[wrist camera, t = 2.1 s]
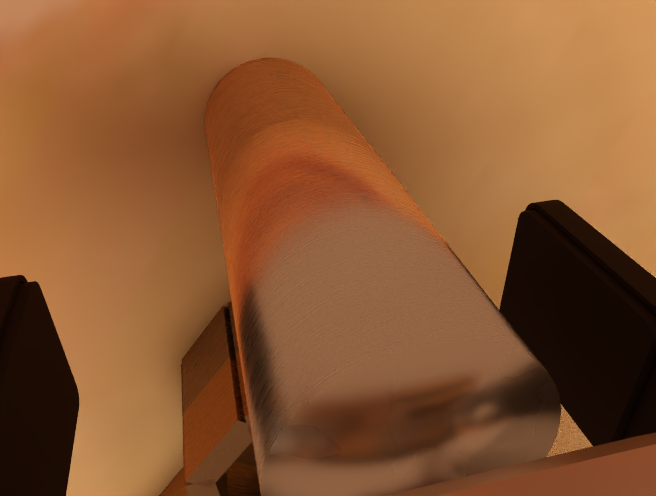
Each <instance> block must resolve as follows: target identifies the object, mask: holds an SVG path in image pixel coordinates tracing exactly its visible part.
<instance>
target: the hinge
mask: <svg viewBox="0 0 656 496" xmlns="http://www.w3.org/2000/svg"><path fill="white" fill-rule="evenodd" d="M228 305H229V309H228V308H226V307H222V308H221V310H220V311H219V312H218V314H217V315H216V316H215V318H214V319H213V320H212V321H211V323H210V324H209V325H208V327H207V328H206V329H205V331H204V332H203V333H202V334H201V336H200V337H199V338H198V340H197V341H196V342H195V344H194V345H193V346H192V347H191V349H190V350H189V351H188V353H187V354H186V355H185V357H184V358H183V359H182V364H181V375H182V417H183V458H184V468H183V469H182V470H181V471H180V472H179V474H178V475H177V476H176V477H175V478H174V479H173V481H172V482H171V483H170V484H169V485H168V487H167V488H166V489H165V490H164V491H163V493H162V494H161V495H160V496H261V493H260V487H259V480H258V473H257V467H256V460H255V453H254V447H253V440H252V434H251V427H250V420H249V414H248V407H247V400H246V394H245V387H244V381H243V374H242V367H241V361H240V354H239V347H238V341H237V334H236V328H235V321H234V314H233V308H232V302H231V303H228Z"/></svg>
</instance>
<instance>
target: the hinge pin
mask: <svg viewBox="0 0 656 496" xmlns="http://www.w3.org/2000/svg"><path fill="white" fill-rule="evenodd" d="M205 129H206V136H207V142H208V149H209V155H210V162H211V169H212V175H213V182H214V189H215V195H216V202H217V208H218V215H219V222H220V228H221V235H222V241H223V248H224V255H225V261H226V268H227V275H228V281H229V288H230V294H231V301H232V308H233V314H234V321H235V328H236V334H237V341H238V347H239V354H240V361H241V367H242V374H243V381H244V387H245V394H246V400H247V407H248V414H249V420H250V427H251V434H252V440H253V447H254V453H255V460H256V467H257V473H258V480H259V487H260V493H261V496H387V495H392V494H396V493H400V492H404V491H408V490H412V489H416V488H421V487H425V486H429V485H433V484H437V483H441V482H446V481H450V480H454V479H458V478H462V477H466V476H471V475H475V474H479V473H483V472H487V471H491V470H496V469H500V468H504V467H508V466H512V465H517V464H521V463H525V462H529V461H534V460H538V459H542V458H546V456H547V454H548V452H549V451H550V449H551V447H552V445H553V442H554V440H555V437H556V435H557V431H558V427H559V424H560V415H561V404H560V396H559V393H558V390H557V387H556V384H555V383H554V381H553V380H552V378H551V376H550V375H549V373H548V372H547V371H546V369H545V368H544V367H543V366H542V364H541V363H540V362H539V360H538V359H537V358H536V357H535V355H534V354H533V353H532V352H531V350H530V349H529V348H528V346H527V345H526V344H525V343H524V341H523V340H522V339H521V338H520V336H519V335H518V334H517V332H516V331H515V330H514V329H513V327H512V326H511V325H510V323H509V322H508V321H507V320H506V318H505V317H504V316H503V315H502V313H501V312H500V311H499V309H498V308H497V307H496V306H495V304H494V303H493V302H492V301H491V299H490V298H489V297H488V295H487V294H486V293H485V292H484V290H483V289H482V288H481V286H480V285H479V284H478V283H477V281H476V280H475V279H474V278H473V276H472V275H471V274H470V272H469V271H468V270H467V269H466V267H465V266H464V265H463V264H462V262H461V261H460V260H459V258H458V257H457V256H456V255H455V253H454V252H453V251H452V249H451V248H450V247H449V246H448V244H447V243H446V242H445V241H444V239H443V238H442V237H441V235H440V234H439V233H438V232H437V230H436V229H435V228H434V227H433V225H432V224H431V223H430V221H429V220H428V219H427V218H426V216H425V215H424V214H423V212H422V211H421V210H420V209H419V207H418V206H417V205H416V204H415V202H414V201H413V200H412V198H411V197H410V196H409V195H408V193H407V192H406V191H405V190H404V188H403V187H402V186H401V184H400V183H399V182H398V181H397V179H396V178H395V177H394V175H393V174H392V173H391V172H390V170H389V169H388V168H387V167H386V165H385V164H384V163H383V161H382V160H381V159H380V158H379V156H378V155H377V154H376V153H375V151H374V150H373V149H372V147H371V146H370V145H369V144H368V142H367V141H366V140H365V138H364V137H363V136H362V135H361V133H360V132H359V131H358V130H357V128H356V127H355V126H354V124H353V123H352V122H351V121H350V119H349V118H348V117H347V116H346V114H345V113H344V112H343V110H342V109H341V108H340V107H339V105H338V104H337V103H336V101H335V100H334V99H333V98H332V96H331V95H330V94H329V93H328V91H327V90H326V89H325V87H324V86H323V85H322V84H321V82H320V81H319V80H318V79H317V78H316V77H315V76H314V75H313V74H312V73H311V72H310V71H309V70H307V69H306V68H304V67H302V66H301V65H299V64H296V63H294V62H292V61H288V60H285V59H278V58H263V59H257V60H253V61H249V62H247V63H244V64H242V65H240V66H238V67H236V68H235V69H233V70H232V71H231V72H229V73H228V74H227V75H226V76H225V77H224V78H223V79H222V80H221V81H220V82H219V83H218V85H217V86H216V87H215V89H214V91H213V93H212V94H211V96H210V99H209V102H208V105H207V109H206V115H205Z"/></svg>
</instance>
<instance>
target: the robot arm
mask: <svg viewBox="0 0 656 496" xmlns="http://www.w3.org/2000/svg"><path fill="white" fill-rule="evenodd" d="M499 311H500V312H501V313H502V315H503V316H504V317H505V318H506V320H507V321H508V322H509V323H510V325H511V326H512V327H513V329H514V330H515V331H516V332H517V334H518V335H519V336H520V338H521V339H522V340H523V341H524V343H525V344H526V345H527V346H528V348H529V349H530V350H531V352H532V353H533V354H534V355H535V357H536V358H537V359H538V360H539V362H540V363H541V364H542V366H543V367H544V368H545V369H546V371H547V372H548V373H549V375H550V376H551V378H552V380H553V381H554V383H555V384H556V387H557V390H558V393H559V396H560V403H561V404H562V406H563V407H564V408H565V410H566V411H567V412H568V414H569V415H570V416H571V418H572V419H573V420H574V422H575V423H576V424H577V426H578V427H579V428H580V429H581V431H582V432H583V433H584V435H585V436H586V437H587V439H588V440H589V441H590V443H591V444H592V445H593V447H589V448H585V449H581V450H576V451H572V452H568V453H564V454H559V455H555V456H551V457H546V458H542V459H538V460H534V461H529V462H525V463H521V464H517V465H512V466H508V467H504V468H500V469H496V470H491V471H487V472H483V473H479V474H475V475H471V476H466V477H462V478H458V479H454V480H450V481H446V482H441V483H437V484H433V485H429V486H425V487H421V488H416V489H412V490H408V491H404V492H400V493H396V494H392V495H387V496H656V278H655V277H654V276H652V275H651V274H650V273H649V272H647V271H646V270H645V269H644V268H643V267H641V266H640V265H639V264H638V263H636V262H635V261H634V260H633V259H631V258H630V257H629V256H628V255H627V254H625V253H624V252H623V251H622V250H620V249H619V248H618V247H617V246H616V245H614V244H613V243H612V242H611V241H609V240H608V239H607V238H606V237H604V236H603V235H602V234H601V233H600V232H598V231H597V230H596V229H595V228H593V227H592V226H591V225H590V224H589V223H587V222H586V221H585V220H584V219H582V218H581V217H580V216H579V215H577V214H576V213H575V212H574V211H573V210H571V209H570V208H569V207H568V206H566V205H565V204H564V203H563V202H561V201H559V200H550V201H543V202H536V203H531V204H529V205H528V206H527V208H526V210H525V211H523V212H521V214H520V215H519V218H518V223H517V228H516V233H515V237H514V242H513V247H512V252H511V257H510V262H509V266H508V271H507V276H506V281H505V286H504V291H503V295H502V300H501V305H500V310H499ZM78 410H79V394H78V389H77V385H76V383H75V380H74V377H73V375H72V372H71V369H70V366H69V364H68V361H67V358H66V356H65V353H64V350H63V347H62V345H61V342H60V339H59V337H58V334H57V331H56V328H55V326H54V323H53V320H52V318H51V315H50V312H49V309H48V307H47V304H46V301H45V299H44V296H43V293H42V290H41V288H40V286H39V284H38V283H37V282H36V281H33V282H27V280H26V278H25V277H24V276H22V275H17V276H10V277H3V278H0V496H66V491H67V484H68V477H69V471H70V464H71V457H72V450H73V444H74V437H75V430H76V424H77V417H78Z"/></svg>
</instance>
